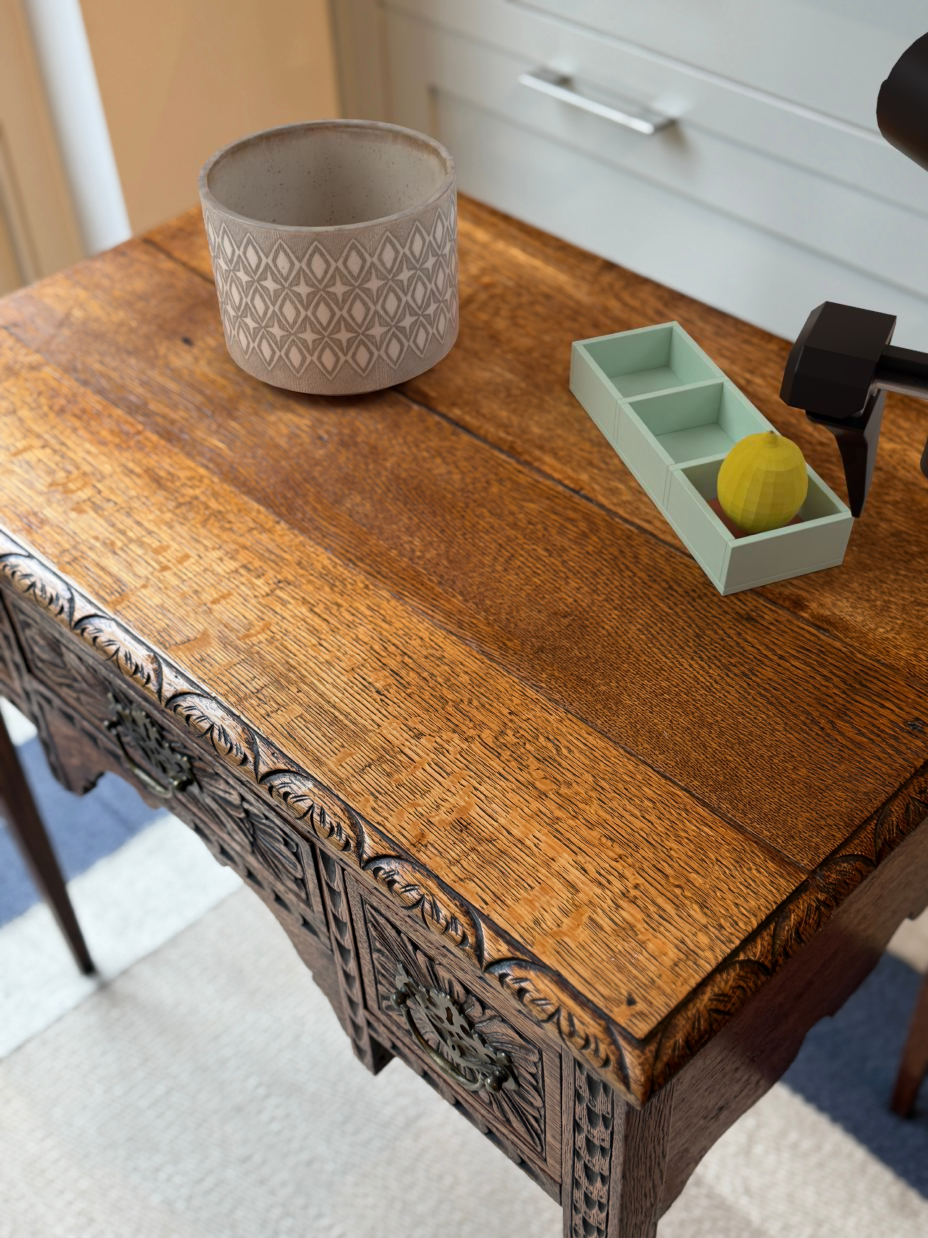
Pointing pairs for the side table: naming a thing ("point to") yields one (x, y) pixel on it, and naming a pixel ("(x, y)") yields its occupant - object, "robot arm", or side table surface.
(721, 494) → the fruit
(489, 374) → the side table surface
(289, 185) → the planter
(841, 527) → the compartment tray
